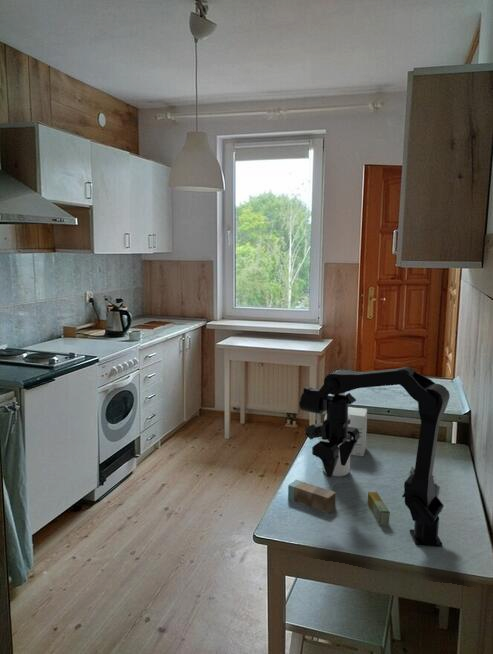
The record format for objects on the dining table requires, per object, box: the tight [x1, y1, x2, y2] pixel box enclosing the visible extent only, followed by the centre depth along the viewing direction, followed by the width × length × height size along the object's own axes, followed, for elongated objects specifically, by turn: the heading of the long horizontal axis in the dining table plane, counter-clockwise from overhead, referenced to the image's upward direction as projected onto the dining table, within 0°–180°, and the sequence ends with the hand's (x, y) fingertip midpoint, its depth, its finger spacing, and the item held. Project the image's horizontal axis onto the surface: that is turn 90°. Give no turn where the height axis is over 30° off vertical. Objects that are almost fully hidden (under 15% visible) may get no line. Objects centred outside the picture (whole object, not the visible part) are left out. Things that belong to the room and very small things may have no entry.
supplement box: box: [348, 406, 368, 457], centre depth 183 cm, size 9×9×15 cm
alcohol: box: [322, 392, 352, 478], centre depth 165 cm, size 9×9×30 cm
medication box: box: [366, 491, 391, 527], centre depth 140 cm, size 12×3×4 cm, turn 3°
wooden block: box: [287, 479, 337, 514], centre depth 146 cm, size 4×4×13 cm
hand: (336, 471), depth 141 cm, fingers open, 9 cm apart
